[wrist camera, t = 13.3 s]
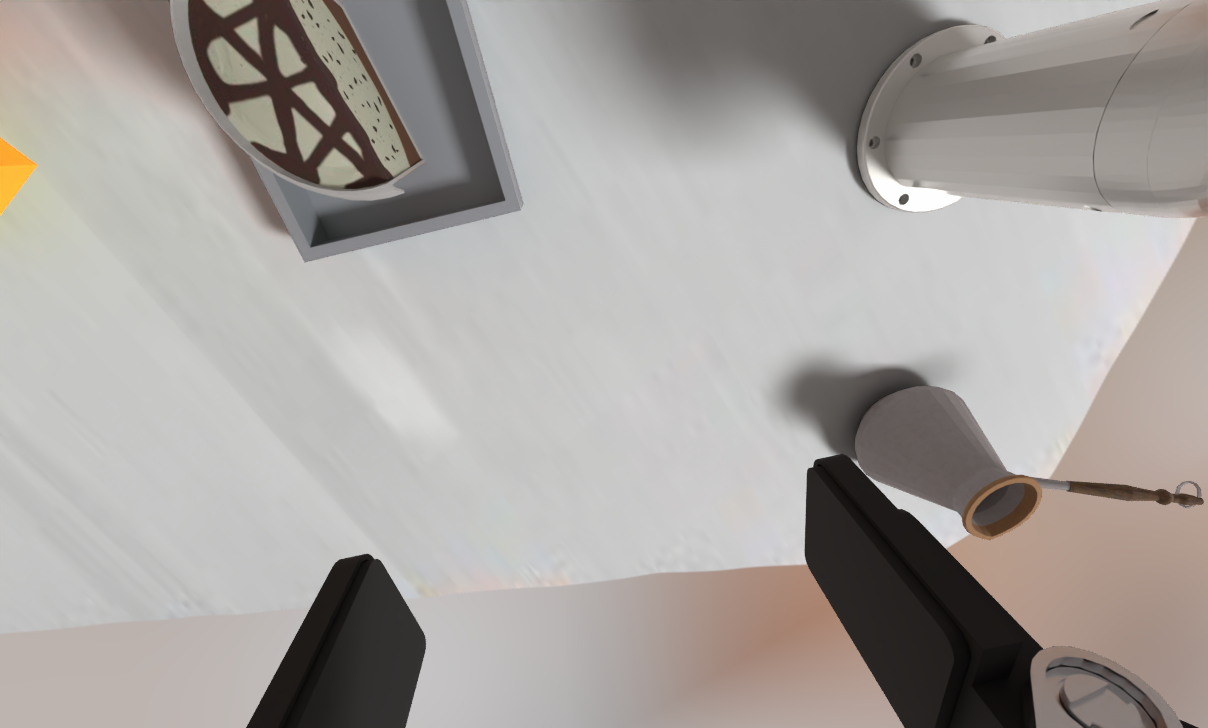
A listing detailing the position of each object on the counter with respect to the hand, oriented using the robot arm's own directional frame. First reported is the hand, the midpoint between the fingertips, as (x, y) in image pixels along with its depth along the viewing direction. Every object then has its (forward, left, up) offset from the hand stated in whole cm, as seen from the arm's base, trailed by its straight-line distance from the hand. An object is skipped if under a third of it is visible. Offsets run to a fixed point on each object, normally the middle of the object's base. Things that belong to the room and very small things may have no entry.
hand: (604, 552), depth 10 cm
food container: (+11, -13, -28) cm, 33 cm away
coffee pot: (-35, +26, -29) cm, 52 cm away
